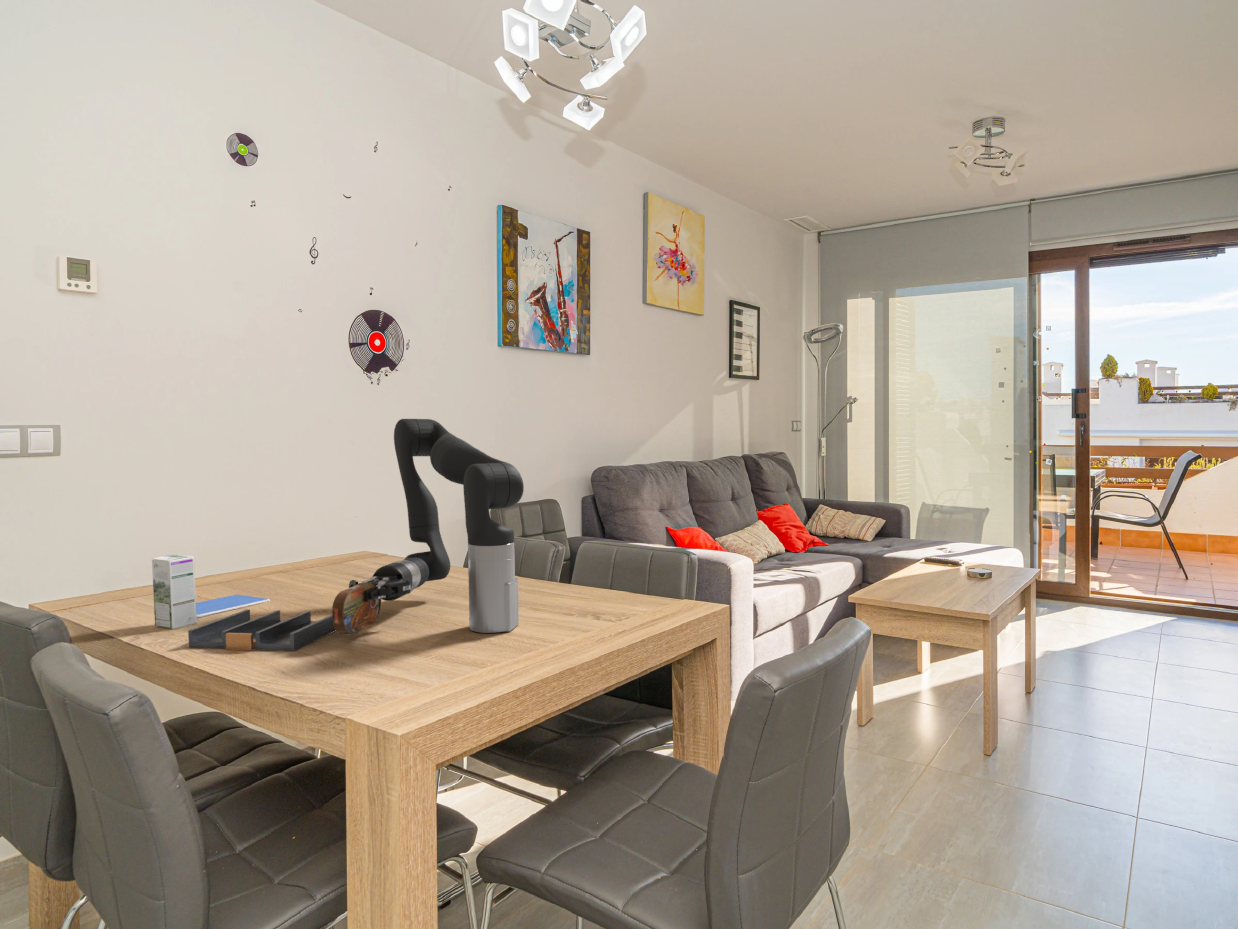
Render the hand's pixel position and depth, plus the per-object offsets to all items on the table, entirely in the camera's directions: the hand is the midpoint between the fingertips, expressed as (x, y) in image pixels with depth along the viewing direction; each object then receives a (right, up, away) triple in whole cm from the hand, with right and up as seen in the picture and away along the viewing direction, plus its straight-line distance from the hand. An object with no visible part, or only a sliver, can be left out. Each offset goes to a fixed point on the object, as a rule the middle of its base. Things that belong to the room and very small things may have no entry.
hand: (358, 596), depth 146 cm
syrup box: (-42, -8, +11) cm, 44 cm away
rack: (-18, -8, +1) cm, 20 cm away
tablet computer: (-42, -8, +28) cm, 52 cm away
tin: (0, -6, 0) cm, 6 cm away
